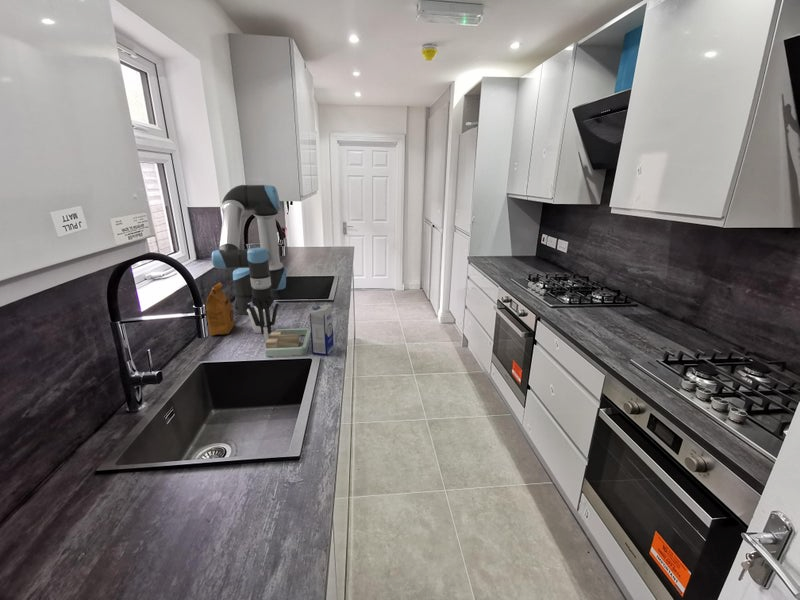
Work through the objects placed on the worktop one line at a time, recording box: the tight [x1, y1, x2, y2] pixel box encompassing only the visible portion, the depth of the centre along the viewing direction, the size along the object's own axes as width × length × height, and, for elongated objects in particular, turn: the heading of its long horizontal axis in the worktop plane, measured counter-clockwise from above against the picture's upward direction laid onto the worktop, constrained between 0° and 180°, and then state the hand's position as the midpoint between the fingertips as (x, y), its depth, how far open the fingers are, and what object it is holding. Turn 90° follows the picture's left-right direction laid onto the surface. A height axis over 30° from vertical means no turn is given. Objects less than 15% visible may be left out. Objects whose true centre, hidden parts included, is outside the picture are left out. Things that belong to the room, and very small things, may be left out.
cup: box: [247, 306, 267, 335], centre depth 164 cm, size 10×10×11 cm
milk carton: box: [308, 304, 335, 357], centre depth 143 cm, size 7×7×20 cm
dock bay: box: [265, 327, 311, 357], centre depth 152 cm, size 21×16×3 cm
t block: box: [265, 330, 300, 350], centre depth 151 cm, size 12×12×4 cm
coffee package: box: [205, 282, 235, 337], centre depth 161 cm, size 10×12×22 cm
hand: (267, 340), depth 150 cm, fingers closed
